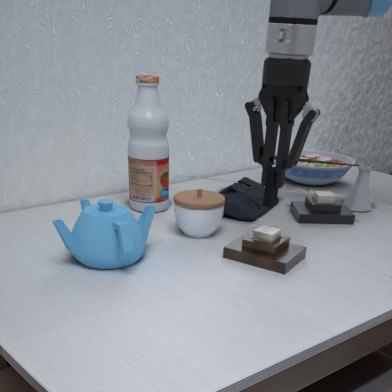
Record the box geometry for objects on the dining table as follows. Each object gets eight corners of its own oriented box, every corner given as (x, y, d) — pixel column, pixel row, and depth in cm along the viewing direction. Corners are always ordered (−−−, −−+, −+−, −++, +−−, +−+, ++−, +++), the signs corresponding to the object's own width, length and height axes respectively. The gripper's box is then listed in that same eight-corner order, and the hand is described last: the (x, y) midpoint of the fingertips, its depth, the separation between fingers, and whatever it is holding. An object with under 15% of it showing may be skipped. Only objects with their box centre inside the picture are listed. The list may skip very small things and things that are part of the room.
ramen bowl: (352, 178, 152) (358, 150, 148) (354, 199, 134) (361, 168, 129) (270, 170, 157) (273, 143, 152) (261, 190, 138) (264, 159, 133)
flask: (363, 203, 131) (372, 163, 126) (376, 212, 125) (386, 171, 120) (337, 204, 130) (345, 163, 124) (349, 213, 124) (358, 171, 118)
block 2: (341, 211, 125) (344, 194, 123) (353, 224, 117) (357, 207, 114) (289, 209, 124) (291, 193, 122) (298, 223, 116) (301, 206, 114)
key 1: (280, 239, 97) (281, 229, 95) (271, 245, 94) (272, 235, 93) (261, 234, 98) (262, 224, 97) (252, 240, 95) (253, 230, 94)
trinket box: (225, 242, 104) (229, 196, 99) (174, 241, 103) (174, 195, 98) (219, 224, 113) (222, 182, 108) (172, 224, 112) (172, 181, 107)
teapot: (52, 267, 90) (44, 208, 84) (85, 238, 103) (80, 185, 97) (133, 278, 88) (131, 218, 82) (157, 247, 100) (157, 193, 94)
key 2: (329, 199, 120) (330, 191, 119) (333, 205, 117) (335, 196, 116) (312, 199, 120) (314, 190, 119) (317, 204, 117) (318, 195, 115)
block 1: (305, 257, 99) (308, 238, 97) (284, 274, 92) (287, 254, 89) (246, 242, 104) (248, 223, 102) (222, 257, 97) (224, 237, 95)
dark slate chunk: (192, 212, 119) (192, 192, 117) (227, 191, 136) (229, 173, 133) (252, 224, 114) (255, 203, 111) (282, 200, 131) (284, 181, 128)
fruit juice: (126, 202, 124) (122, 73, 109) (164, 200, 126) (164, 74, 111) (133, 214, 116) (128, 77, 101) (172, 212, 119) (174, 78, 103)
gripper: (240, 54, 80) (228, 202, 92) (318, 60, 74) (294, 217, 87) (261, 53, 85) (247, 194, 98) (335, 59, 79) (310, 207, 92)
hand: (269, 205), depth 92 cm, fingers closed
